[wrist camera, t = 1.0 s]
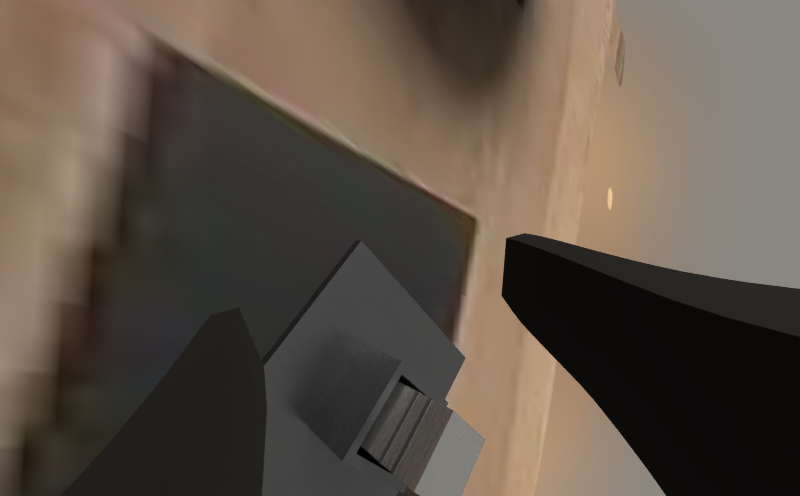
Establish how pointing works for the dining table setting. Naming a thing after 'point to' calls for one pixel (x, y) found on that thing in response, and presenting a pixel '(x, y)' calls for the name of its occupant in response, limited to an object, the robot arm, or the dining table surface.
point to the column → (423, 443)
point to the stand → (347, 380)
